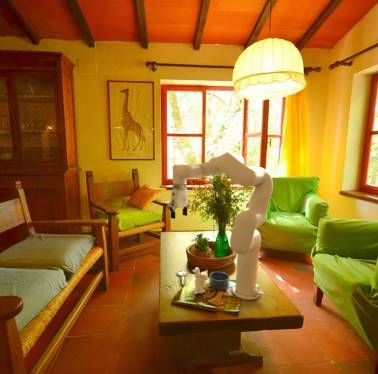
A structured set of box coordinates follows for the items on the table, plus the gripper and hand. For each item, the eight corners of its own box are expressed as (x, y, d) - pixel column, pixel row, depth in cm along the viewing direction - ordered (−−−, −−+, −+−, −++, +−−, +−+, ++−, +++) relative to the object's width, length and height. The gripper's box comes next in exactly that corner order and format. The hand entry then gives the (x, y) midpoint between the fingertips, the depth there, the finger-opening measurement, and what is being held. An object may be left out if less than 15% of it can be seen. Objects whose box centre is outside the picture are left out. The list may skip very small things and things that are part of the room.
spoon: (187, 285, 126) (187, 283, 126) (179, 285, 125) (179, 284, 125) (185, 272, 139) (185, 271, 139) (177, 272, 139) (177, 271, 139)
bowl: (232, 285, 127) (233, 275, 126) (222, 293, 120) (222, 283, 119) (216, 278, 133) (216, 269, 133) (205, 285, 126) (205, 276, 125)
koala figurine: (194, 296, 116) (195, 272, 114) (188, 289, 122) (189, 265, 120) (210, 293, 119) (211, 269, 118) (204, 286, 125) (204, 263, 124)
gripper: (173, 188, 131) (172, 220, 133) (194, 186, 143) (194, 215, 146) (163, 187, 136) (163, 218, 138) (185, 184, 148) (184, 213, 151)
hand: (179, 216), depth 142 cm, fingers open, 9 cm apart
